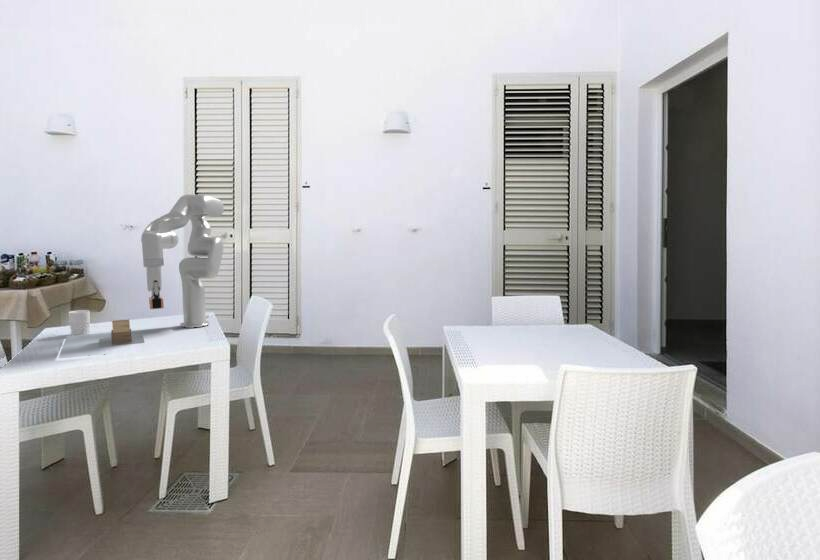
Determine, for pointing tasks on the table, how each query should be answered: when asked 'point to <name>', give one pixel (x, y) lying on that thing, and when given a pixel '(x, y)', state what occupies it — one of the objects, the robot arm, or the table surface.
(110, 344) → the slate board
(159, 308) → the terracotta block
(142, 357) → the table surface
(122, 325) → the oak block
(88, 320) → the white cup
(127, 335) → the walnut base block
